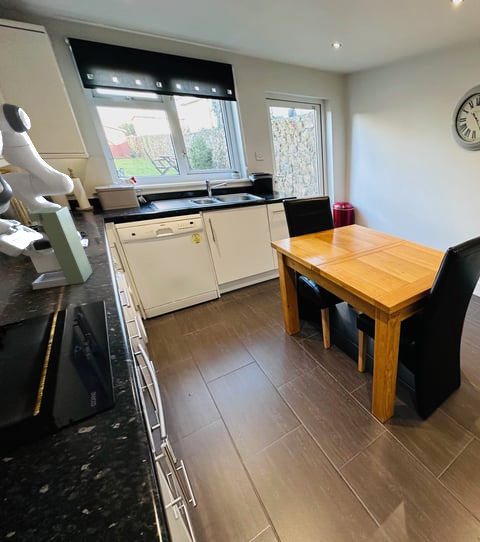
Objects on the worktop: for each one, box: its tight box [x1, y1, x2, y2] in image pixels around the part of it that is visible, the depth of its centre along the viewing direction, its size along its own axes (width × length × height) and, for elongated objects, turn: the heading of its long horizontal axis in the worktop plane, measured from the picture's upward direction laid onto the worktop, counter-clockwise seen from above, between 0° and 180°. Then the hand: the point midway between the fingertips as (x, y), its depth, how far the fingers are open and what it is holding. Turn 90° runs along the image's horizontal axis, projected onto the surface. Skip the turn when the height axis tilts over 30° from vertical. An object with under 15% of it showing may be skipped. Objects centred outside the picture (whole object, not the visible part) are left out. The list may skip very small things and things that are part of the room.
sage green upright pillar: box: [27, 206, 93, 291], centre depth 111 cm, size 12×15×29 cm
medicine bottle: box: [29, 239, 62, 274], centre depth 111 cm, size 7×7×12 cm
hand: (46, 253), depth 111 cm, fingers closed on medicine bottle, 8 cm apart
